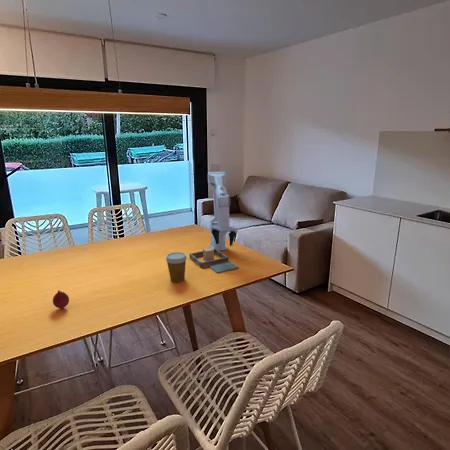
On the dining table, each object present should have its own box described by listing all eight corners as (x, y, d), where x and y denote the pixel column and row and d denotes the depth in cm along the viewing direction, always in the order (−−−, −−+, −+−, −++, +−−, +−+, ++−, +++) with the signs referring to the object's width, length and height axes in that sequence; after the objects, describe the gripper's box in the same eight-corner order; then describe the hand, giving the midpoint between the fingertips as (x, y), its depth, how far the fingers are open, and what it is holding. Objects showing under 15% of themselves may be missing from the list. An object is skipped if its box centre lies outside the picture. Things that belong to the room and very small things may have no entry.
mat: (208, 266, 173) (208, 265, 173) (229, 262, 178) (229, 260, 178) (216, 273, 165) (216, 272, 165) (238, 268, 170) (238, 267, 170)
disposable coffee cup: (189, 275, 163) (188, 252, 160) (185, 284, 154) (184, 259, 151) (170, 275, 164) (168, 251, 161) (164, 284, 155) (163, 259, 152)
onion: (72, 304, 138) (69, 286, 136) (66, 312, 133) (63, 293, 131) (58, 305, 138) (54, 287, 136) (51, 312, 133) (48, 293, 130)
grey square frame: (189, 258, 185) (189, 253, 184) (215, 252, 192) (215, 248, 191) (201, 267, 172) (201, 263, 171) (228, 261, 179) (228, 257, 178)
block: (203, 259, 183) (202, 248, 181) (210, 257, 185) (210, 247, 183) (206, 262, 179) (206, 251, 177) (214, 260, 181) (213, 249, 179)
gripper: (207, 219, 172) (208, 245, 175) (234, 222, 166) (234, 248, 170) (213, 216, 178) (213, 241, 182) (239, 218, 172) (239, 244, 176)
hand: (224, 244), depth 176 cm, fingers open, 7 cm apart
